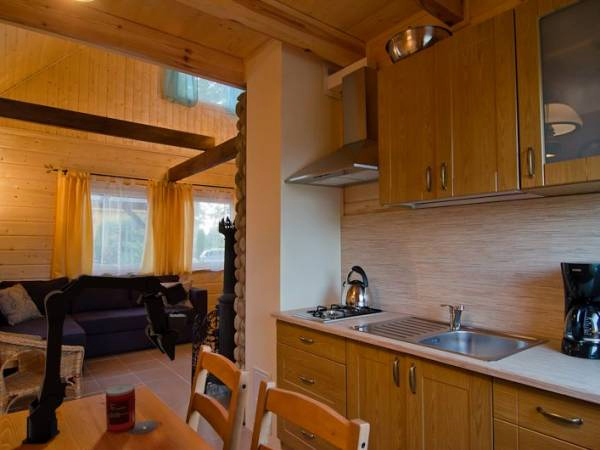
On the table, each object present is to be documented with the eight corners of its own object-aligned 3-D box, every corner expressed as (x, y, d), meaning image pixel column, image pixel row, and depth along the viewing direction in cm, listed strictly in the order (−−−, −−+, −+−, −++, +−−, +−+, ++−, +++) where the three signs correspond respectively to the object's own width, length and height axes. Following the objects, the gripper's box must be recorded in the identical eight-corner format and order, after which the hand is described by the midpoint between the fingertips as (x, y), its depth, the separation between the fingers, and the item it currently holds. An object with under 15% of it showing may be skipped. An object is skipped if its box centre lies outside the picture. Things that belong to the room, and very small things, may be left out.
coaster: (122, 434, 106) (122, 433, 106) (136, 420, 114) (136, 420, 114) (150, 434, 106) (150, 434, 106) (162, 421, 113) (162, 420, 114)
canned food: (127, 417, 116) (126, 381, 116) (141, 425, 111) (140, 386, 111) (101, 428, 110) (100, 389, 110) (114, 436, 105) (113, 395, 105)
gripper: (190, 307, 121) (202, 352, 123) (171, 299, 136) (182, 340, 138) (155, 320, 115) (168, 368, 116) (139, 311, 130) (151, 354, 132)
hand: (168, 356), depth 126 cm, fingers open, 9 cm apart
